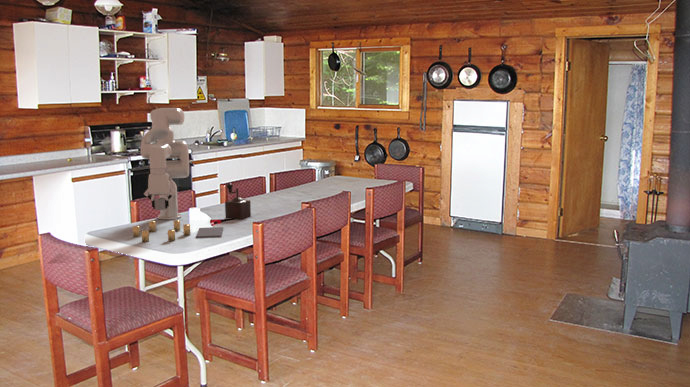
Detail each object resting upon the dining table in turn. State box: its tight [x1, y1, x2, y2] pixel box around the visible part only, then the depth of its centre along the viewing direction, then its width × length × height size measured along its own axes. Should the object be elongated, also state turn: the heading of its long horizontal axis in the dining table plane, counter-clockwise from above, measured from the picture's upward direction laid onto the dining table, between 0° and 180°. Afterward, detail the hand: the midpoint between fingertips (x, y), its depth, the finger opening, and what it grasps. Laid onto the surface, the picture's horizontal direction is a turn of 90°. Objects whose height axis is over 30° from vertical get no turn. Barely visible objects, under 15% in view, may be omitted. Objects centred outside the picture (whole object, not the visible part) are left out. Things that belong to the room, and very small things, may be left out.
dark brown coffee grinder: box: [224, 183, 252, 221], centre depth 344 cm, size 16×11×18 cm
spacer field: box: [132, 219, 191, 243], centre depth 302 cm, size 24×27×5 cm
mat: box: [195, 226, 224, 239], centre depth 308 cm, size 18×12×1 cm, turn 8°
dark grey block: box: [154, 197, 166, 211], centre depth 300 cm, size 6×5×5 cm
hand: (160, 207), depth 301 cm, fingers closed on dark grey block, 5 cm apart
